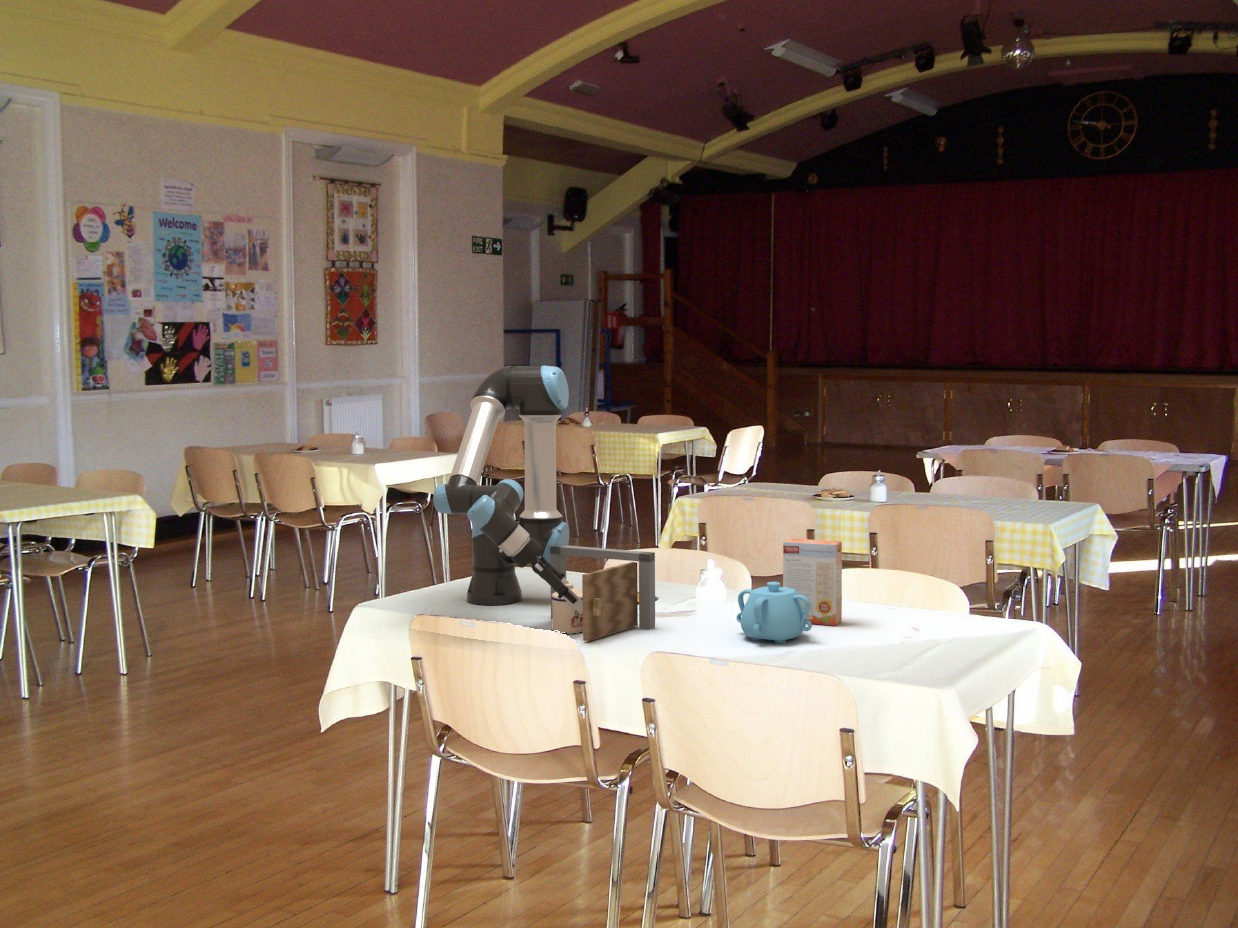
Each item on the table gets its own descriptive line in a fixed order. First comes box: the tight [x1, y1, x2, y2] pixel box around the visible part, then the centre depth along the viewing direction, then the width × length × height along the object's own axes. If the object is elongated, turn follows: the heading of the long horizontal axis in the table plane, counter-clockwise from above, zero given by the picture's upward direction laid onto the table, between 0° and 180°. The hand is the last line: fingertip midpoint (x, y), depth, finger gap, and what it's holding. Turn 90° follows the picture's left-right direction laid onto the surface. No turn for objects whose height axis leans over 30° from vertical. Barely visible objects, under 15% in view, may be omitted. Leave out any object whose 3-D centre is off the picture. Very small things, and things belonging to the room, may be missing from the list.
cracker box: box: [782, 538, 843, 627], centre depth 325 cm, size 14×6×21 cm, turn 65°
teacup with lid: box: [550, 583, 583, 635], centre depth 319 cm, size 12×9×12 cm
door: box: [581, 561, 639, 642], centre depth 312 cm, size 20×3×16 cm, turn 143°
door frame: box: [550, 544, 656, 631], centre depth 325 cm, size 3×28×19 cm, turn 63°
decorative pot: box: [736, 581, 813, 644], centre depth 309 cm, size 16×16×14 cm
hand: (581, 604), depth 319 cm, fingers open, 13 cm apart
